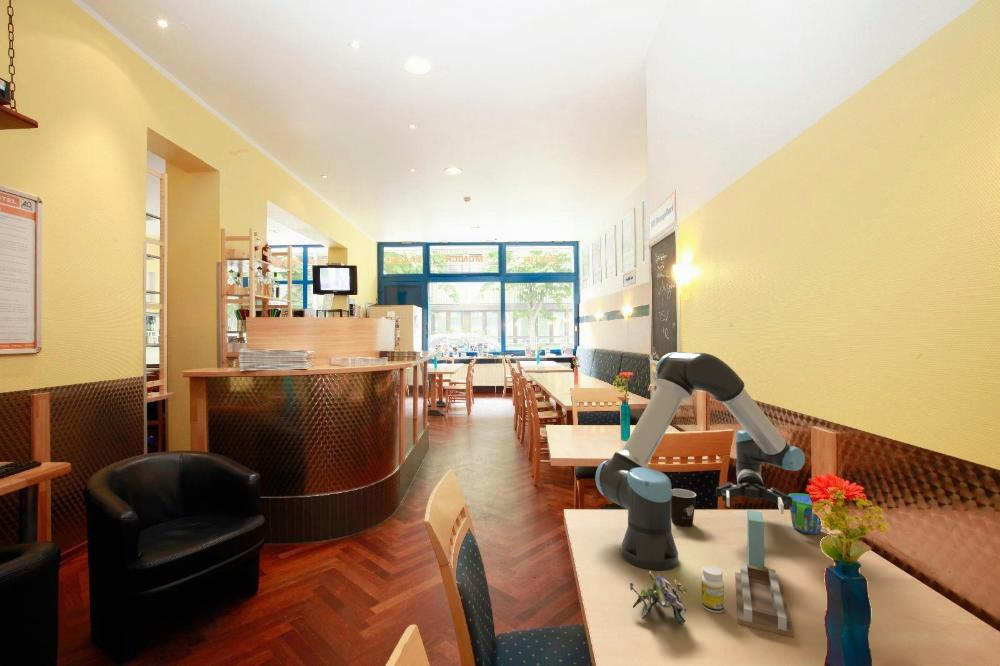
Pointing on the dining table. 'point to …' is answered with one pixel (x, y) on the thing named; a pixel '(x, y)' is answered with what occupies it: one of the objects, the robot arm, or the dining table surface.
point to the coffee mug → (683, 507)
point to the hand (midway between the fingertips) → (754, 505)
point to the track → (761, 600)
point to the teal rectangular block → (755, 538)
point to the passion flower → (663, 597)
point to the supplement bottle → (712, 589)
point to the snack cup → (804, 514)
